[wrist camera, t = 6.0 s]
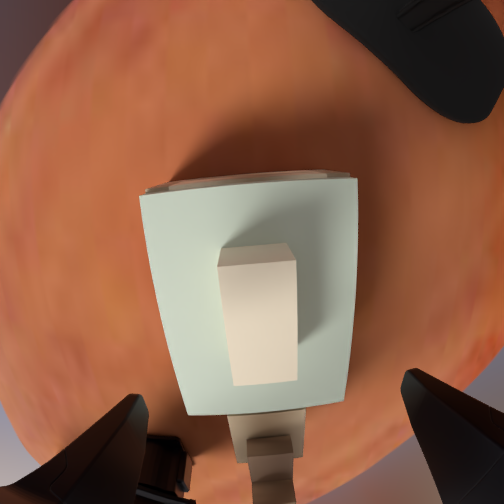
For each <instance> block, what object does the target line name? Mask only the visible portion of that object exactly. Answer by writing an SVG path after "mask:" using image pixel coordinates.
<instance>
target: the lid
mask: <svg viewBox="0 0 504 504" xmlns="http://www.w3.org/2000/svg"><path fill="white" fill-rule="evenodd" d="M139 198H140V206H141V213H142V220H143V227H144V233H145V239H146V245H147V251H148V257H149V262H150V268H151V273H152V278H153V283H154V288H155V293H156V297H157V302H158V307H159V311H160V315H161V320H162V324H163V328H164V332H165V336H166V340H167V344H168V348H169V352H170V356H171V359H172V363H173V367H174V370H175V374H176V377H177V381H178V384H179V388H180V391H181V394H182V397H183V401H184V404H185V407H186V410H187V413H188V415H227V414H245V413H259V412H270V411H280V410H288V409H296V408H304V407H310V406H317V405H323V404H329V403H335V402H340V401H344V395H345V389H346V382H347V375H348V367H349V359H350V351H351V342H352V332H353V321H354V309H355V295H356V278H357V253H358V181H357V178H353V177H332V178H307V179H288V180H272V181H258V182H245V183H233V184H223V185H212V186H203V187H194V188H185V189H176V190H168V191H161V192H153V193H146V194H143V195H140V196H139Z"/></svg>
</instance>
